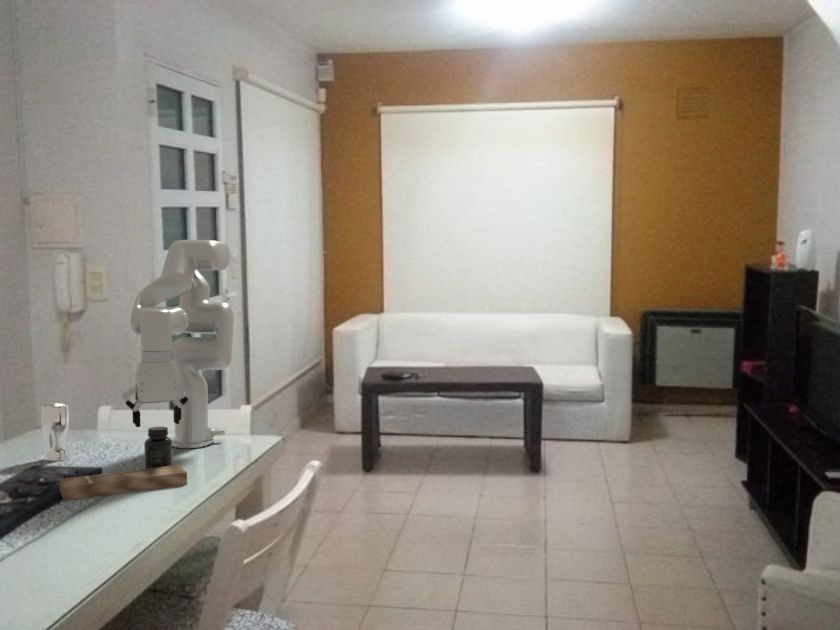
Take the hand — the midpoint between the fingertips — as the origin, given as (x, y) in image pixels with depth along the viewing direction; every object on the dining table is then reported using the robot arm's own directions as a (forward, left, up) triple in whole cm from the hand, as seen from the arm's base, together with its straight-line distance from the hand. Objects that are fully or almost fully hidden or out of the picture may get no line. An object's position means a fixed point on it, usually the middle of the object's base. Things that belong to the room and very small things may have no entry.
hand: (157, 424), depth 215 cm
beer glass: (+21, -30, -13) cm, 39 cm away
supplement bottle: (0, -1, -13) cm, 13 cm away
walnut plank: (+10, +8, -13) cm, 18 cm away
